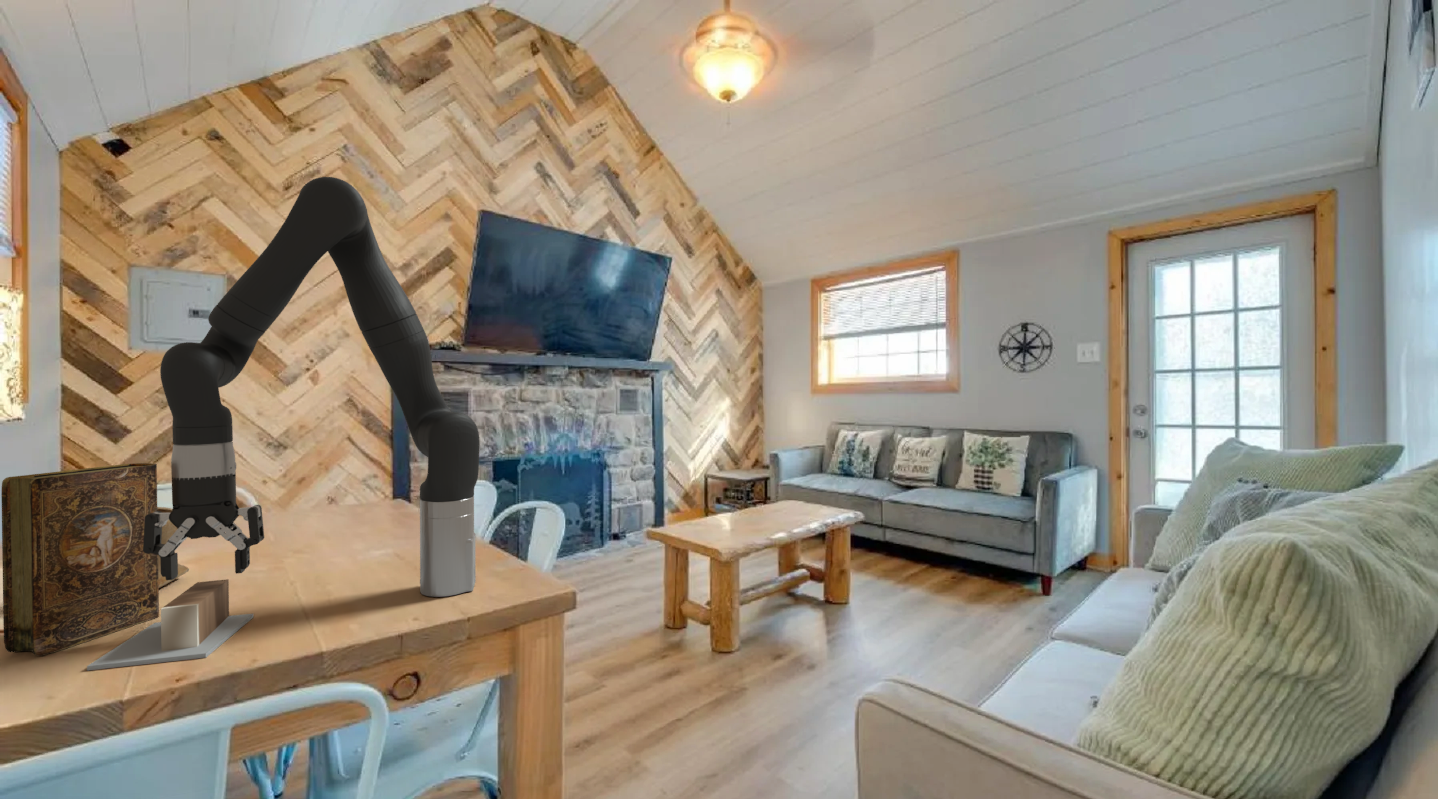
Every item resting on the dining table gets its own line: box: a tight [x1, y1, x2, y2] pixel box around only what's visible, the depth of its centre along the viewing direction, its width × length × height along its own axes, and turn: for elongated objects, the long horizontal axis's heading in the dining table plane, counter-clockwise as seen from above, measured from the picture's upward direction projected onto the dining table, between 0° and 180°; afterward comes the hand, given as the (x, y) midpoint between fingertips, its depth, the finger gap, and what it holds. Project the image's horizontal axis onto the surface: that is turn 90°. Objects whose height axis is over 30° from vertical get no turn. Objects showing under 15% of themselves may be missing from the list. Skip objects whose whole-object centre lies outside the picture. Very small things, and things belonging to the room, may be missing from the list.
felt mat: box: [86, 613, 254, 671], centre depth 88 cm, size 13×15×1 cm
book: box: [0, 462, 160, 657], centre depth 90 cm, size 16×6×25 cm, turn 168°
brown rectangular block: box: [160, 578, 230, 651], centre depth 89 cm, size 4×6×12 cm
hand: (207, 575), depth 92 cm, fingers open, 8 cm apart
